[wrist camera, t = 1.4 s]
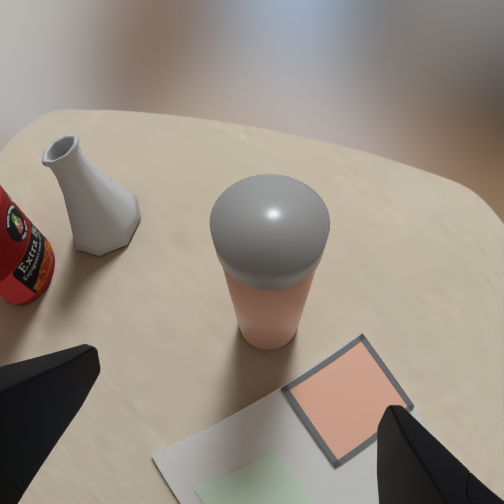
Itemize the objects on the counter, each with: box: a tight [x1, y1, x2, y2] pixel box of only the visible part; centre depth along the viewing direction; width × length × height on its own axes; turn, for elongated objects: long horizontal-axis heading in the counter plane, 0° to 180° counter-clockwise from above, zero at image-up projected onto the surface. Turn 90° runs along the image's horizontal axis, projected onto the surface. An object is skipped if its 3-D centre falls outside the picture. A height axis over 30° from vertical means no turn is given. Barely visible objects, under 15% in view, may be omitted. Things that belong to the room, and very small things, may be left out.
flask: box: [42, 134, 141, 256], centre depth 23 cm, size 7×7×10 cm
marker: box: [210, 174, 330, 350], centre depth 17 cm, size 4×4×12 cm
